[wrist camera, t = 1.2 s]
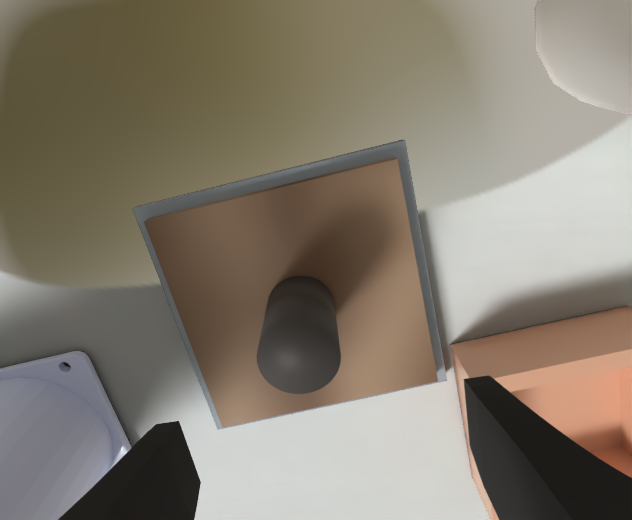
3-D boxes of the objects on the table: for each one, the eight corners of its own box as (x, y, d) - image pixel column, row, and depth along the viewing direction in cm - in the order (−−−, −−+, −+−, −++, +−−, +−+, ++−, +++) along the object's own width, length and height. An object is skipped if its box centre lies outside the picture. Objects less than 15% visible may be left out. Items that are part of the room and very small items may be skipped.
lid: (224, 419, 21) (202, 499, 17) (148, 218, 18) (98, 254, 14) (434, 373, 21) (468, 445, 16) (394, 156, 17) (422, 174, 13)
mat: (219, 422, 22) (217, 429, 22) (136, 206, 18) (132, 209, 18) (444, 374, 21) (447, 380, 21) (402, 139, 18) (405, 140, 17)
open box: (472, 477, 23) (494, 529, 20) (449, 344, 21) (472, 383, 18) (630, 446, 23) (675, 494, 20) (627, 305, 20) (679, 338, 17)
